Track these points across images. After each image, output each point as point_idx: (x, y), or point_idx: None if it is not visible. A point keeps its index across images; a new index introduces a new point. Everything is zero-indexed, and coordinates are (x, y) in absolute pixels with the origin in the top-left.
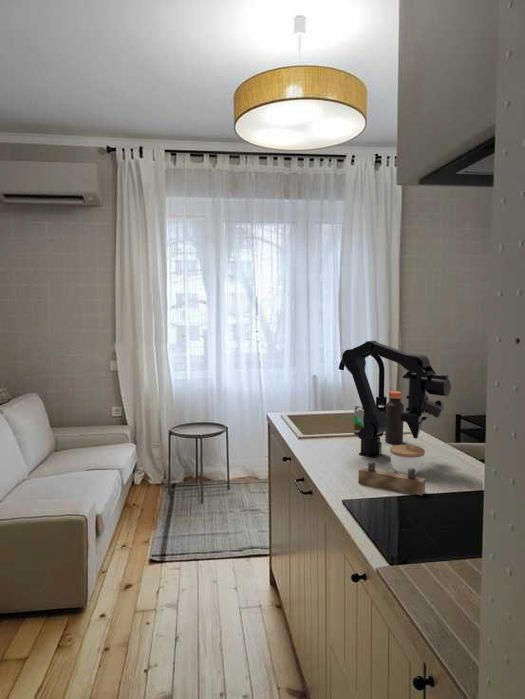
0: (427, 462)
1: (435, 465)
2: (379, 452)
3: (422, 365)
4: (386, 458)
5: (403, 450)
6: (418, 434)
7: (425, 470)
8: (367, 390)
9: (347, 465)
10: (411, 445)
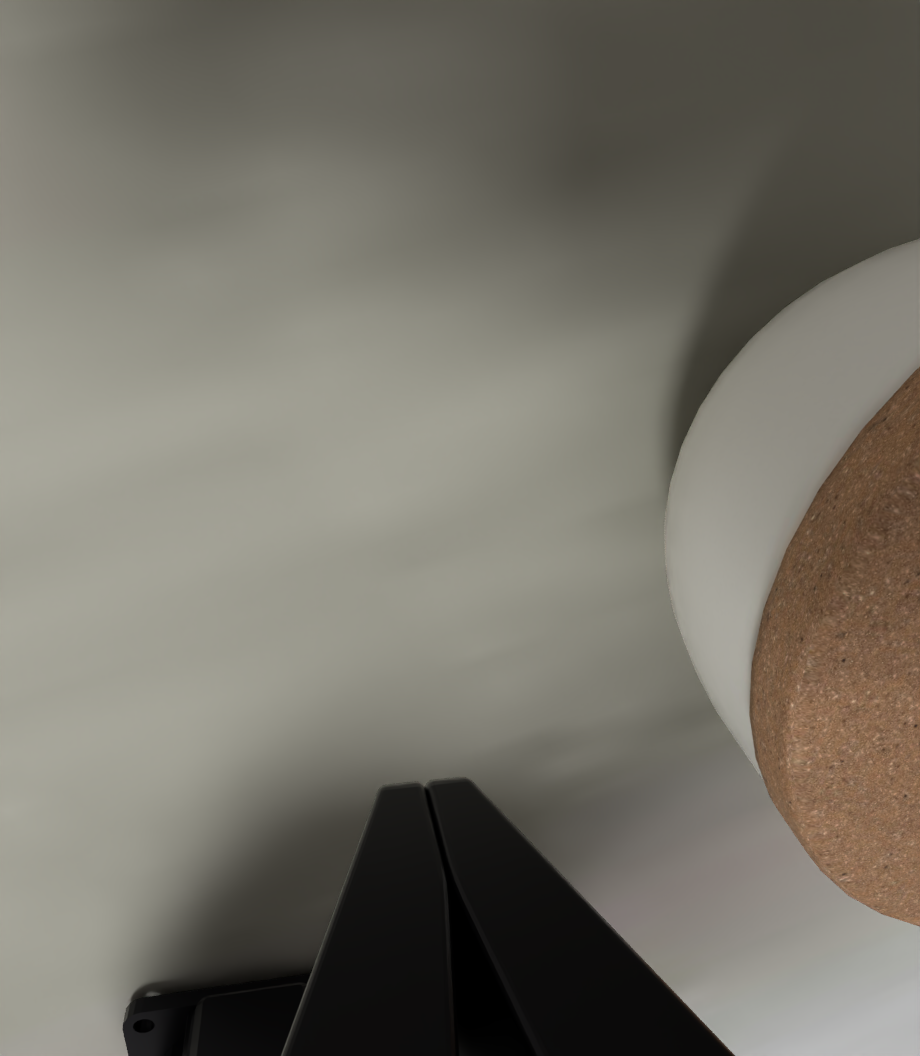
0: (84, 321)
1: (179, 121)
2: (290, 1012)
3: None
4: (312, 872)
5: None
6: (382, 870)
7: (599, 228)
8: None
9: (792, 1008)
10: (828, 684)
